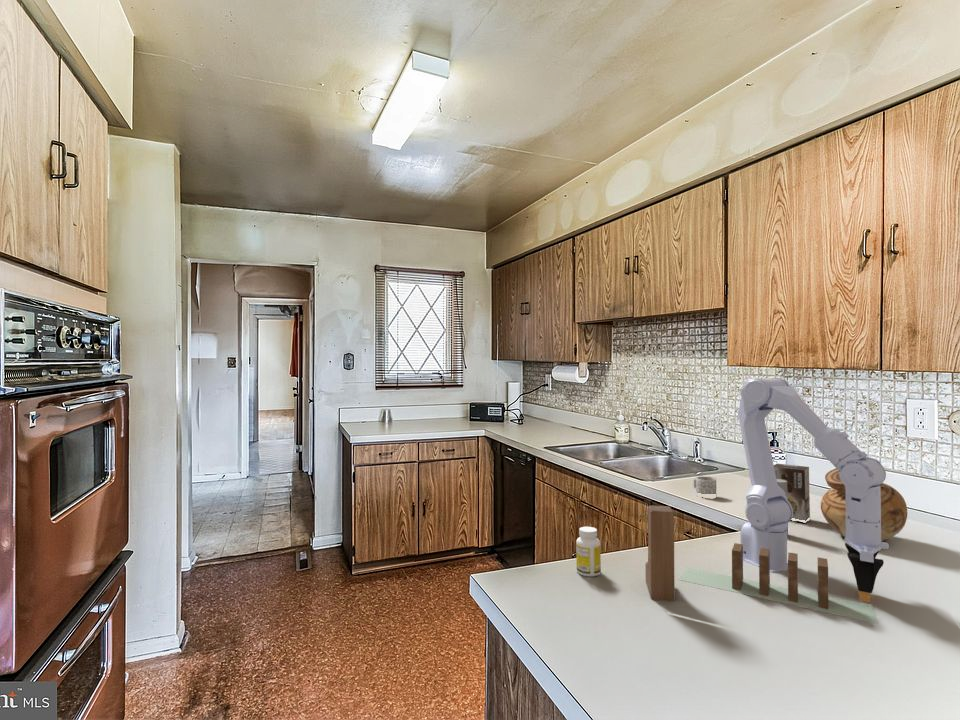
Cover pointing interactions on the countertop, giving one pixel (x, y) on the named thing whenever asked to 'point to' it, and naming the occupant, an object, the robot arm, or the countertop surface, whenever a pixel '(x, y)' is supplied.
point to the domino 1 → (737, 566)
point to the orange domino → (864, 596)
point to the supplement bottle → (588, 552)
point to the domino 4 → (823, 583)
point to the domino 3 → (793, 577)
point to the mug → (705, 485)
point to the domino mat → (781, 595)
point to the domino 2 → (764, 571)
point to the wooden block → (660, 553)
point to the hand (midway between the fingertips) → (863, 586)
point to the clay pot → (836, 507)
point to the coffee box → (796, 488)
